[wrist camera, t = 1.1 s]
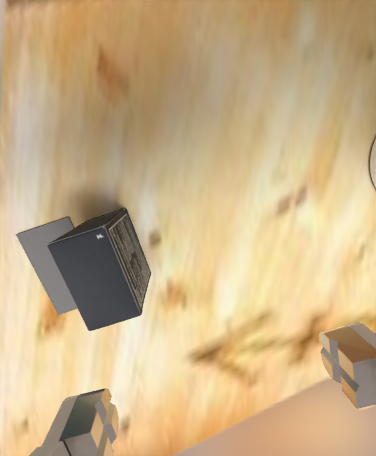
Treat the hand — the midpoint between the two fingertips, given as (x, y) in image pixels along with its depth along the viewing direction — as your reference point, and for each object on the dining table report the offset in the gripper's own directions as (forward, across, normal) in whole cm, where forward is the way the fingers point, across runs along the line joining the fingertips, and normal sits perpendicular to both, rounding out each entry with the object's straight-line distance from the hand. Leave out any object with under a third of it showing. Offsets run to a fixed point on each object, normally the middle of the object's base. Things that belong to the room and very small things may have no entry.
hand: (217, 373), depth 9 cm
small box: (+26, +10, +1) cm, 28 cm away
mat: (+26, +18, +2) cm, 32 cm away
